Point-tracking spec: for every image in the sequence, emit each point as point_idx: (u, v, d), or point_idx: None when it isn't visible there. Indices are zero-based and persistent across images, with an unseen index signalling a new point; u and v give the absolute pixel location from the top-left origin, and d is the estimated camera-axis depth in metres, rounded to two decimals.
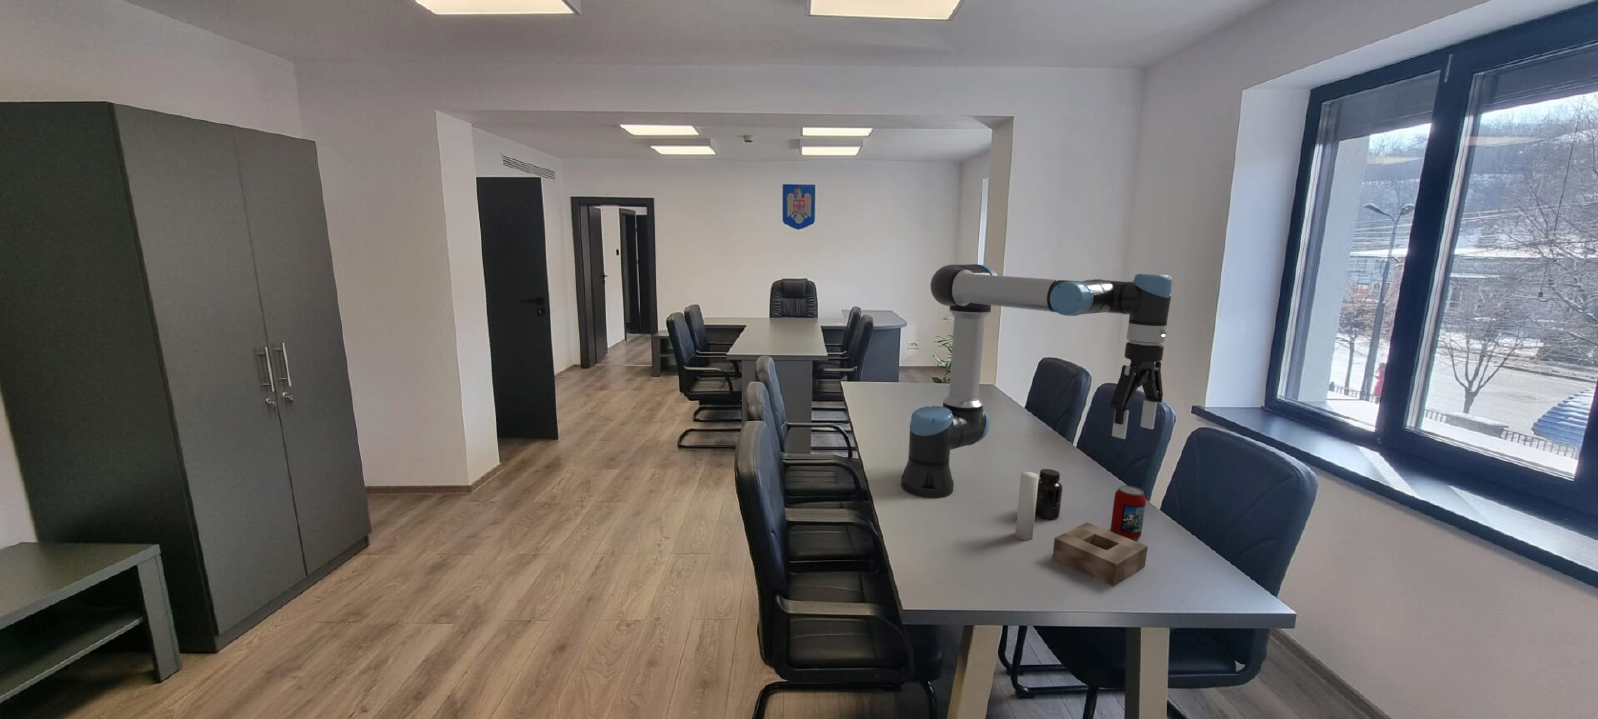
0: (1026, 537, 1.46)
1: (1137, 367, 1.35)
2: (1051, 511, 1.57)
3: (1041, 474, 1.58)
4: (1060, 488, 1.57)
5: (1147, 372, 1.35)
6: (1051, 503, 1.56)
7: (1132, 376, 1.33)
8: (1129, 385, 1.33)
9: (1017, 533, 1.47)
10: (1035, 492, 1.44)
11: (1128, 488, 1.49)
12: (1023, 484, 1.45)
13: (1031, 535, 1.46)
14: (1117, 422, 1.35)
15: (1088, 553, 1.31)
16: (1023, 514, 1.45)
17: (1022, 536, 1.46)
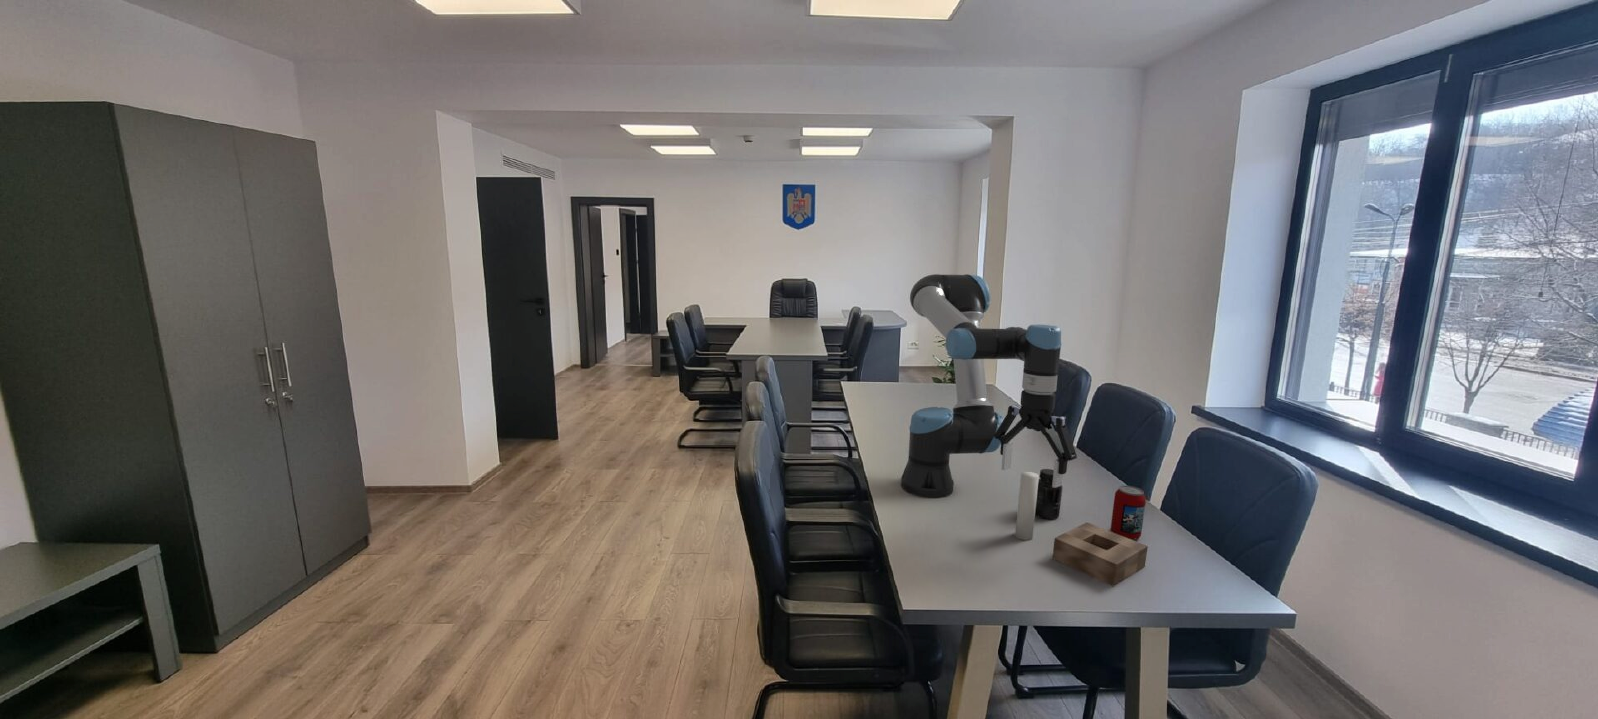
0: (1026, 537, 1.46)
1: (1019, 409, 1.45)
2: (1051, 511, 1.57)
3: (1041, 474, 1.58)
4: (1060, 488, 1.57)
5: (1026, 417, 1.42)
6: (1051, 503, 1.56)
7: (1007, 413, 1.47)
8: (1004, 420, 1.48)
9: (1017, 533, 1.47)
10: (1035, 492, 1.44)
11: (1128, 488, 1.49)
12: (1023, 484, 1.45)
13: (1031, 535, 1.46)
14: None
15: (1088, 553, 1.31)
16: (1023, 514, 1.45)
17: (1022, 536, 1.46)
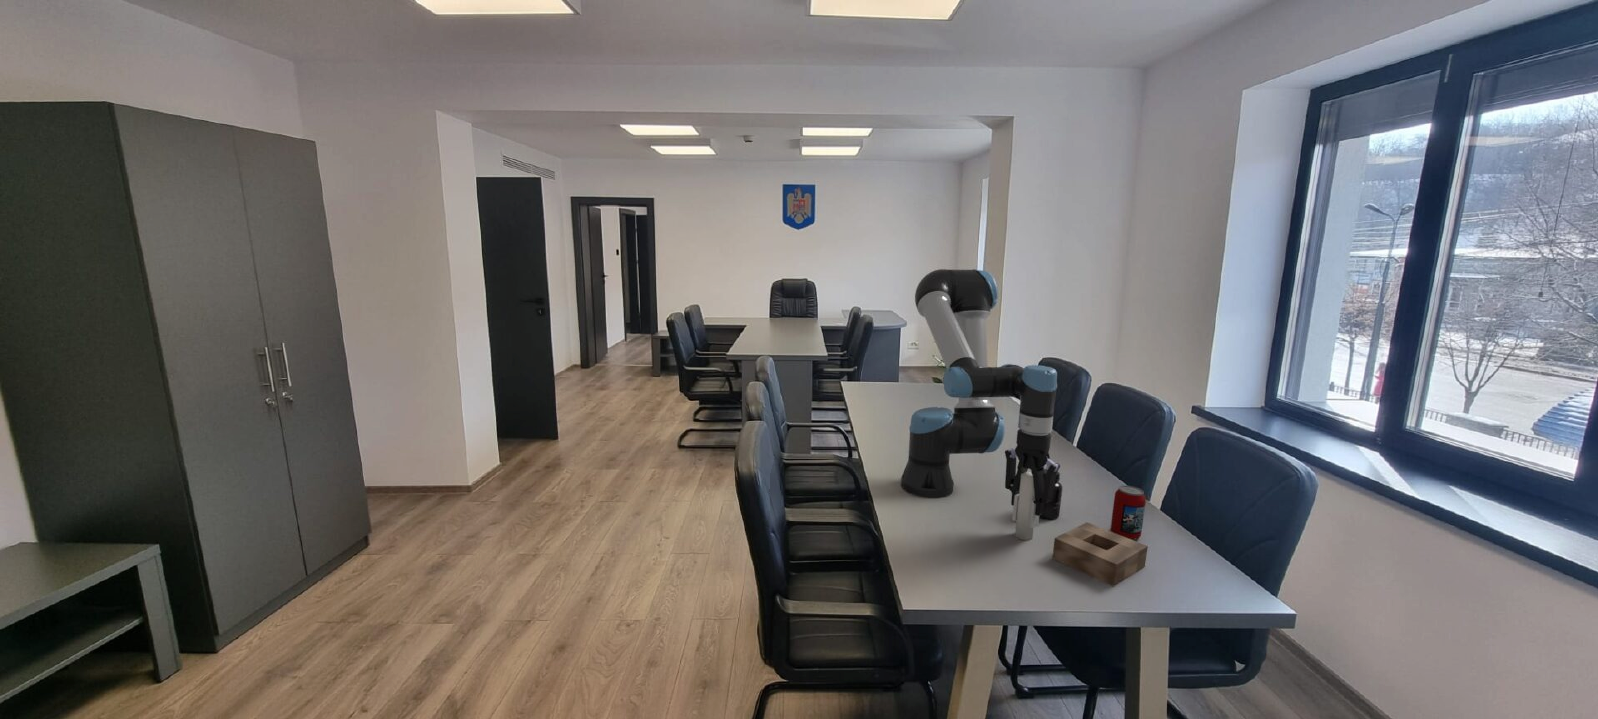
0: (1026, 537, 1.46)
1: (1015, 449, 1.47)
2: (1051, 511, 1.57)
3: None
4: (1060, 488, 1.57)
5: (1022, 456, 1.44)
6: (1051, 503, 1.56)
7: (1006, 458, 1.48)
8: (1007, 467, 1.49)
9: (1017, 533, 1.47)
10: None
11: (1128, 488, 1.49)
12: (1023, 484, 1.45)
13: (1031, 535, 1.46)
14: None
15: (1088, 553, 1.31)
16: (1023, 514, 1.45)
17: (1022, 536, 1.46)
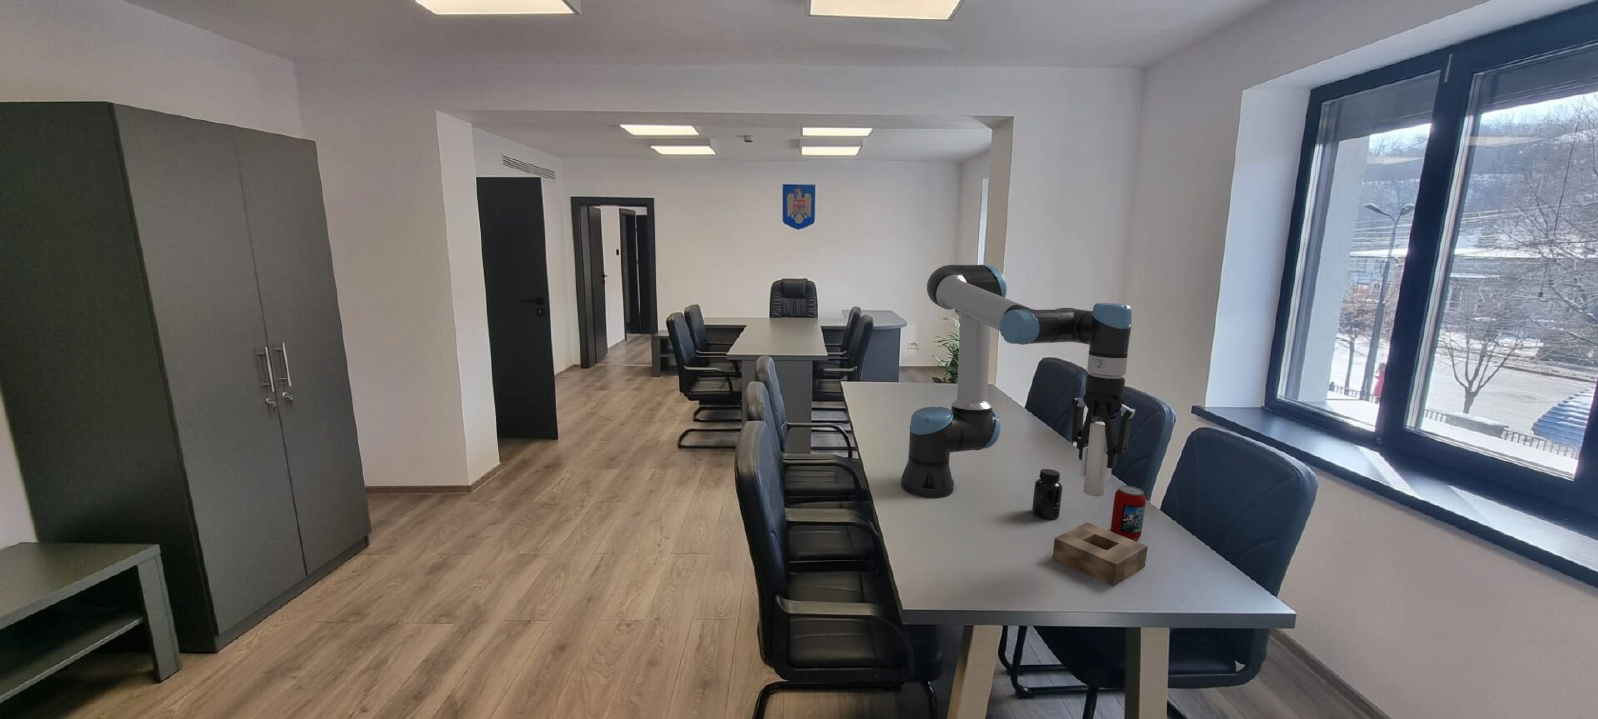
0: (1097, 493, 1.33)
1: (1083, 397, 1.34)
2: (1051, 511, 1.57)
3: (1041, 474, 1.58)
4: (1060, 488, 1.57)
5: (1092, 403, 1.31)
6: (1051, 503, 1.56)
7: (1073, 408, 1.36)
8: (1074, 417, 1.36)
9: (1086, 489, 1.34)
10: (1106, 442, 1.31)
11: (1128, 488, 1.49)
12: (1093, 434, 1.32)
13: (1102, 491, 1.33)
14: None
15: (1088, 553, 1.31)
16: (1093, 468, 1.32)
17: (1092, 492, 1.33)
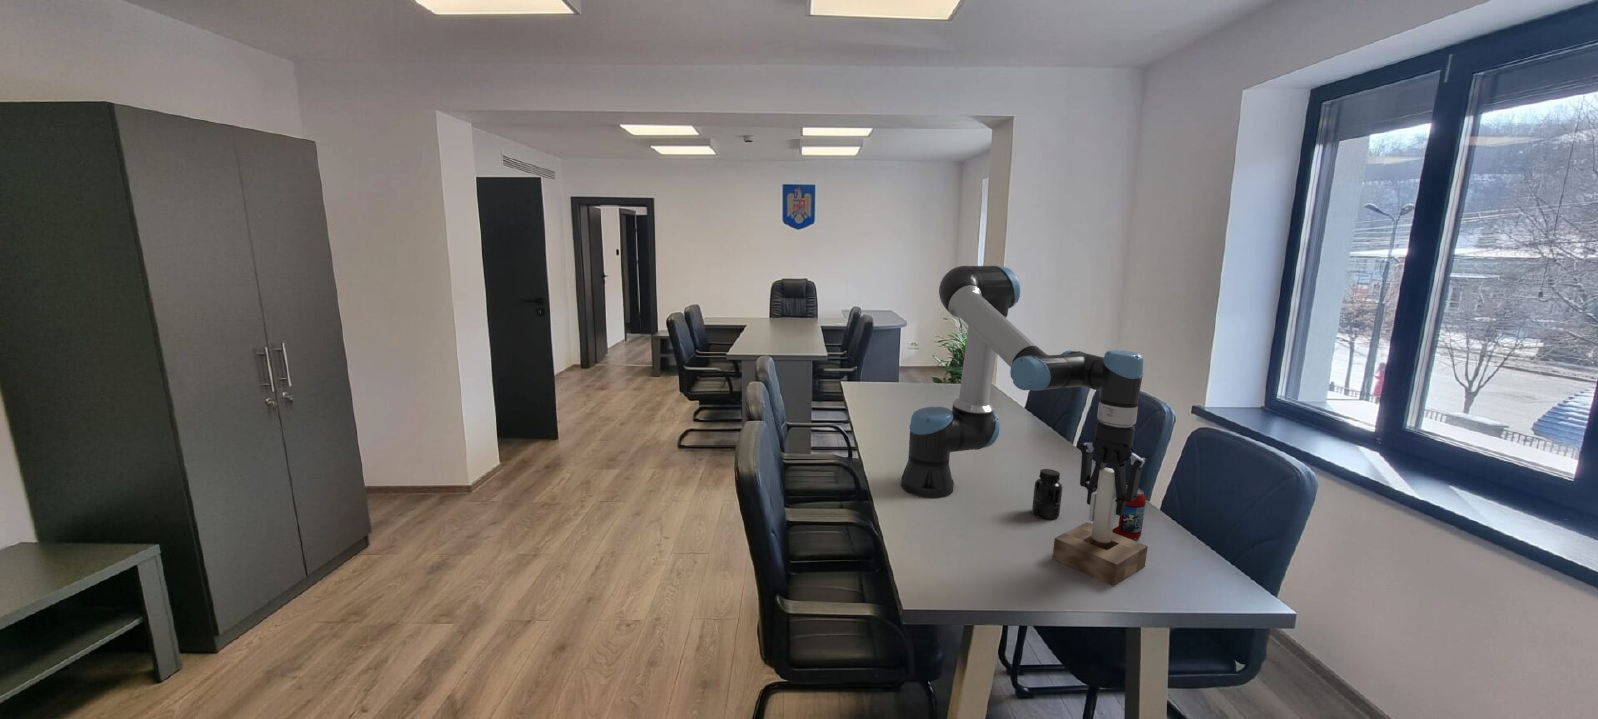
0: (1105, 539, 1.33)
1: (1092, 443, 1.34)
2: (1051, 511, 1.57)
3: (1041, 474, 1.58)
4: (1060, 488, 1.57)
5: (1101, 450, 1.31)
6: (1051, 503, 1.56)
7: (1082, 453, 1.36)
8: (1083, 462, 1.36)
9: (1094, 535, 1.34)
10: (1115, 490, 1.31)
11: None
12: (1102, 481, 1.32)
13: (1110, 537, 1.34)
14: None
15: (1088, 553, 1.31)
16: (1102, 515, 1.33)
17: (1100, 538, 1.33)
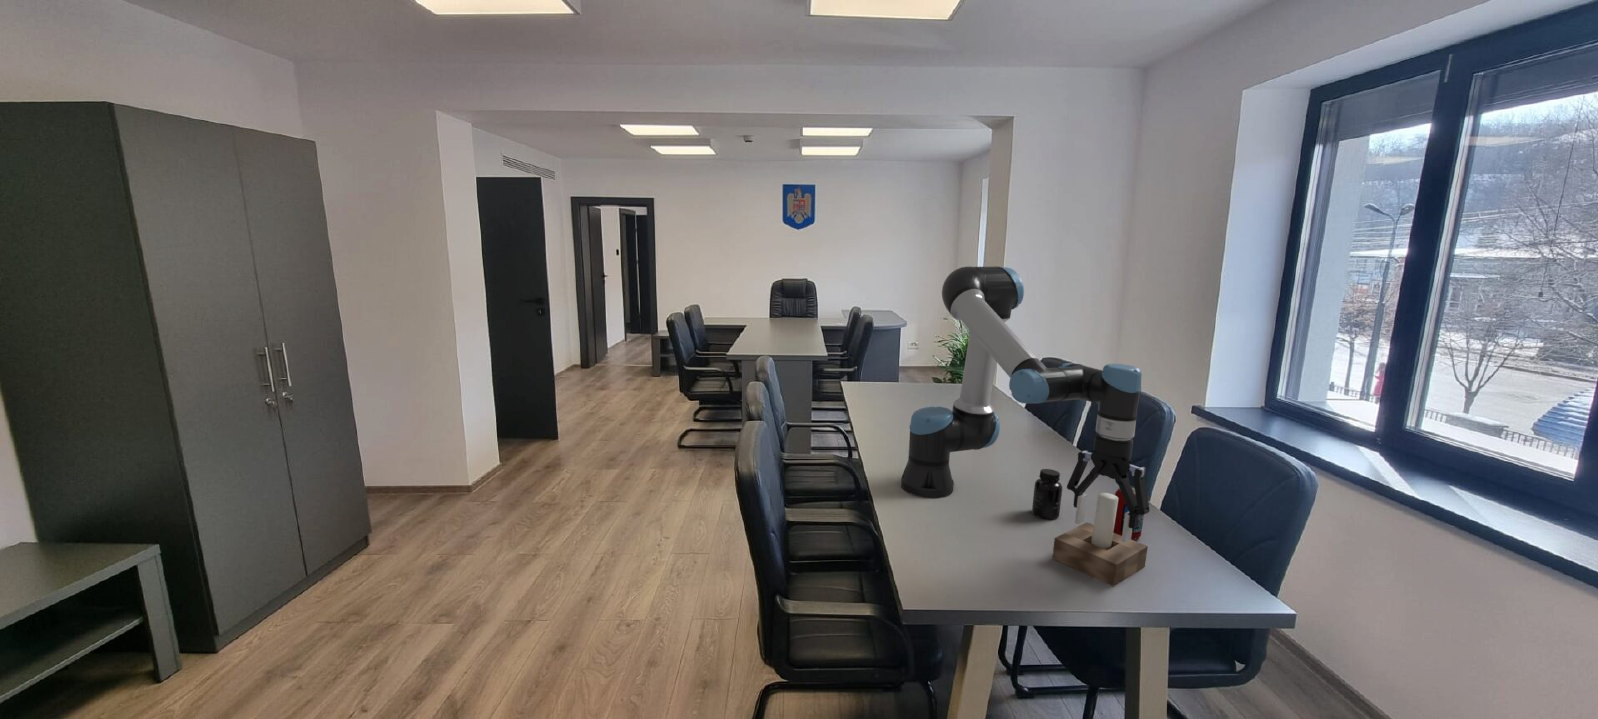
0: None
1: (1091, 454, 1.34)
2: (1051, 511, 1.57)
3: (1041, 474, 1.58)
4: (1060, 488, 1.57)
5: (1100, 463, 1.32)
6: (1051, 503, 1.56)
7: (1078, 460, 1.37)
8: (1076, 468, 1.37)
9: None
10: (1114, 515, 1.32)
11: None
12: (1101, 507, 1.33)
13: None
14: None
15: (1088, 553, 1.31)
16: (1099, 540, 1.34)
17: None
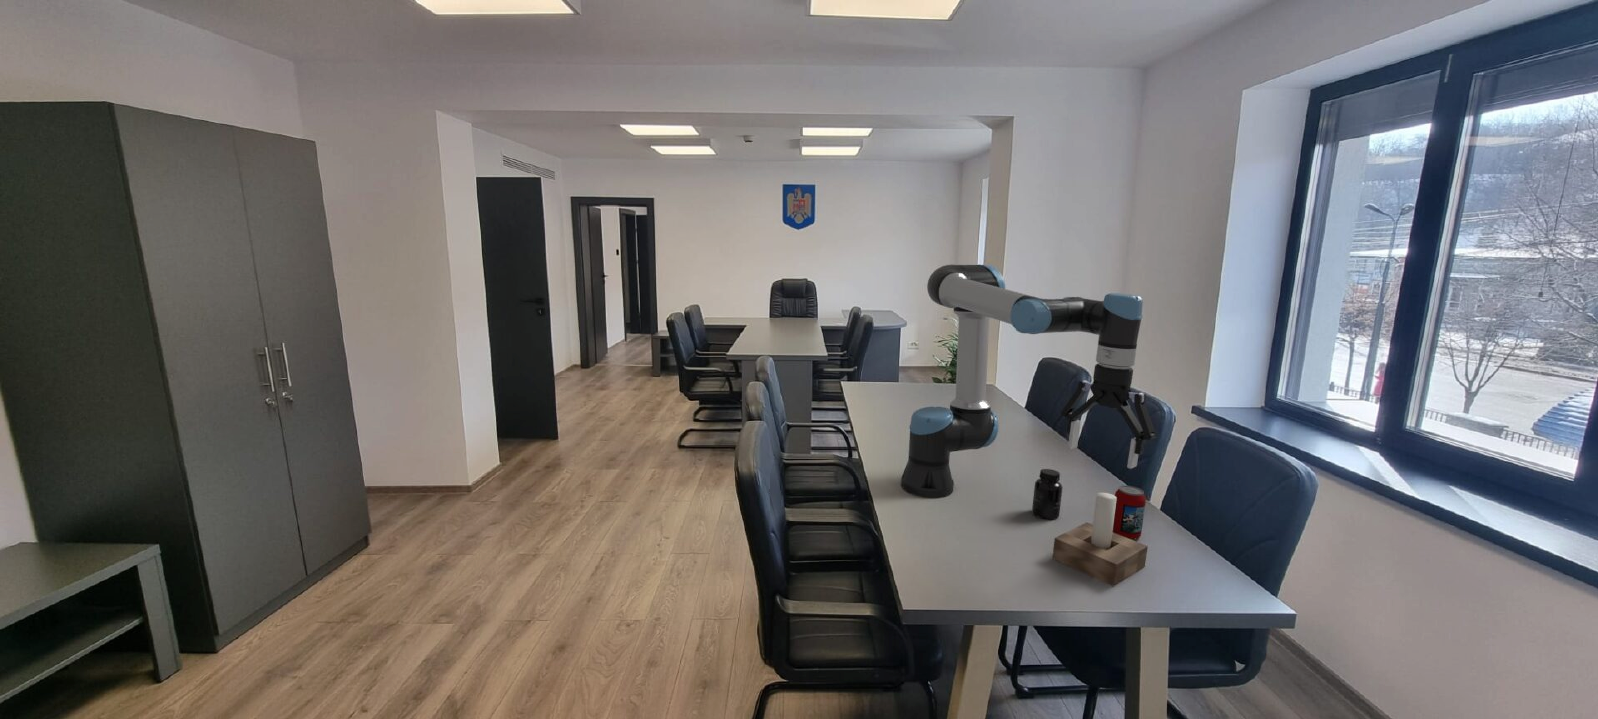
0: None
1: (1091, 384, 1.35)
2: (1051, 511, 1.57)
3: (1041, 474, 1.58)
4: (1060, 488, 1.57)
5: (1099, 393, 1.33)
6: (1051, 503, 1.56)
7: (1077, 389, 1.37)
8: (1073, 397, 1.38)
9: None
10: (1112, 515, 1.32)
11: (1128, 488, 1.49)
12: (1099, 506, 1.33)
13: None
14: None
15: (1088, 553, 1.31)
16: (1099, 539, 1.34)
17: None
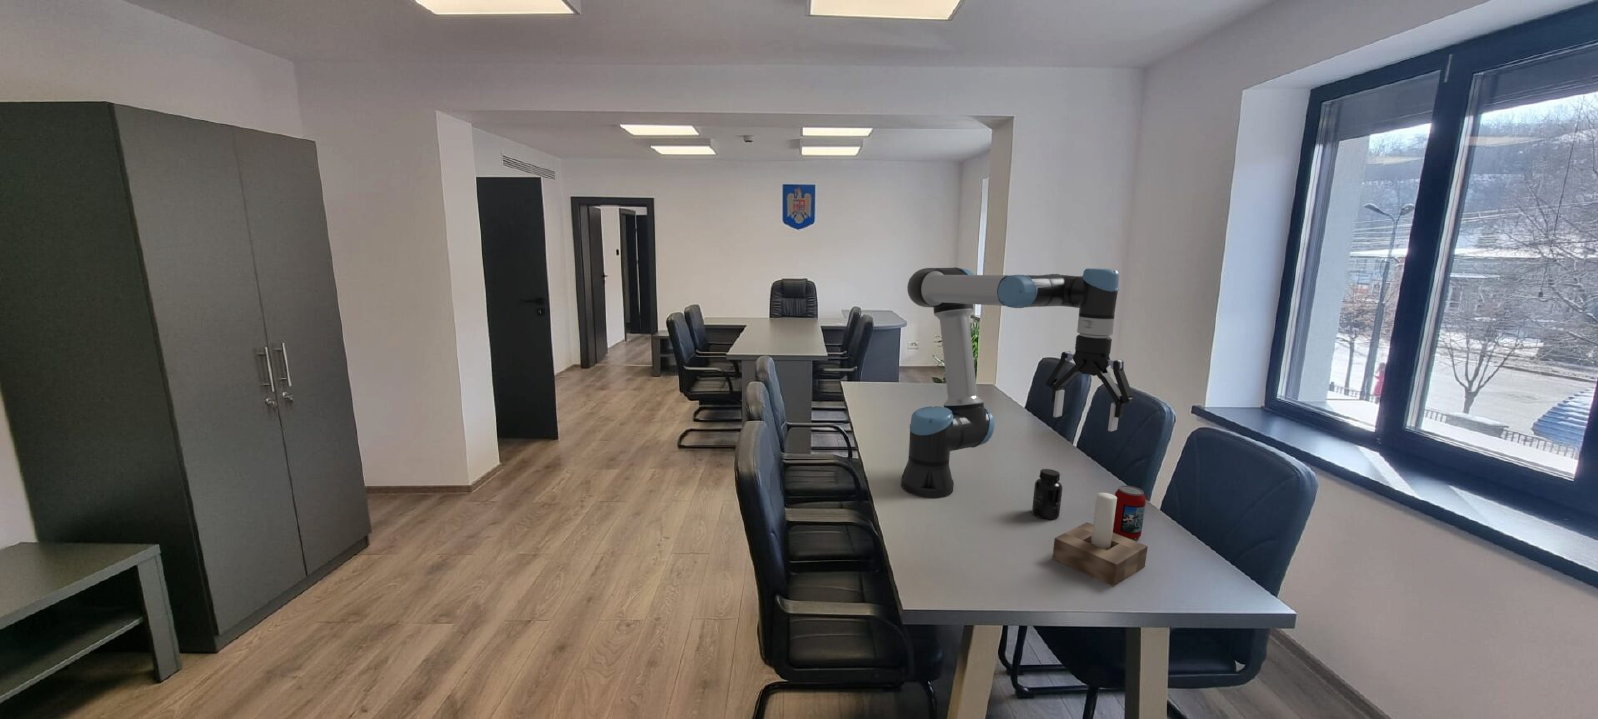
0: None
1: (1073, 355, 1.44)
2: (1051, 511, 1.57)
3: (1041, 474, 1.58)
4: (1060, 488, 1.57)
5: (1081, 362, 1.42)
6: (1051, 503, 1.56)
7: (1060, 359, 1.46)
8: (1057, 367, 1.47)
9: None
10: (1112, 515, 1.32)
11: (1128, 488, 1.49)
12: (1099, 506, 1.33)
13: None
14: None
15: (1088, 553, 1.31)
16: (1099, 539, 1.34)
17: None
